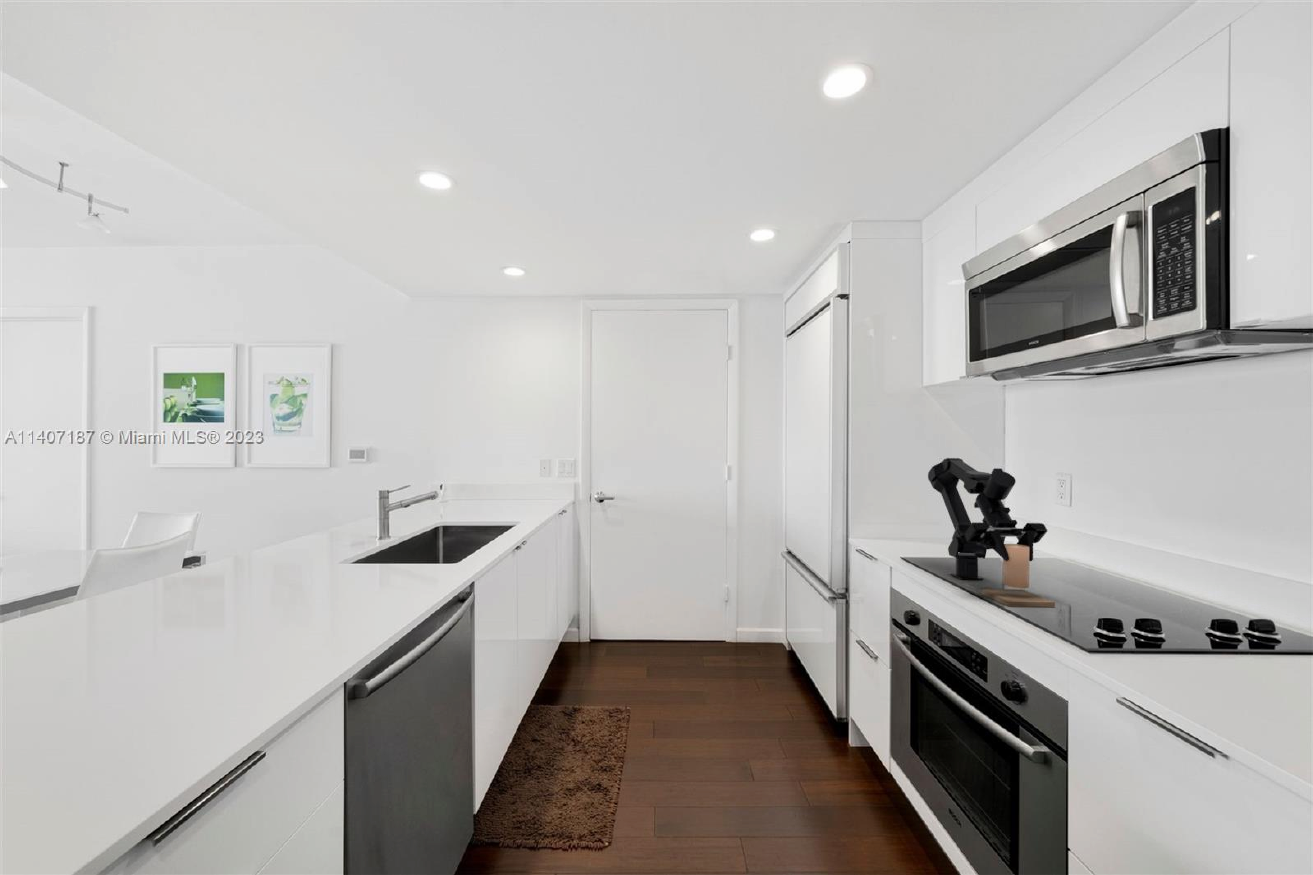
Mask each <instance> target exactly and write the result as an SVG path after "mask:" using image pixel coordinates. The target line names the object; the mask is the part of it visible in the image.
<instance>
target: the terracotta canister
mask: <svg viewBox="0 0 1313 875" xmlns="http://www.w3.org/2000/svg"><path fill="white" fill-rule="evenodd" d="M1004 545H1005V547H1006V550H1007V553H1008V556H1009V560H1008V561H1005V560H1004V559H1003V558H1002V559H1003V561H1002V566H1003V567H1002V569H1003V570H1002V575H1003V576H1002V584H1003V585H1004V586H1006V587H1010V588H1017V589H1028V588H1030V561H1029V546H1025V545H1019V544H1017V543H1004Z"/></svg>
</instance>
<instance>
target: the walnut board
mask: <svg viewBox="0 0 1313 875" xmlns="http://www.w3.org/2000/svg"><path fill="white" fill-rule="evenodd" d="M980 594H981V595H983V596H985V597H988V598H990V599H992V600H994V601H995V602H998V603H1000V604H1003V605H1005V606H1007V607H1008V608H1012V607H1013V608H1056V602H1055V601H1054V600H1050V599H1048V598H1045V597H1042V596H1040V595H1038V594H1035V593H1033V592H1030V591H1028V590H1026V589H1022V588H1017V589H1008V588H1007V589H1006V588H1005V589H1004V588H1003V589H1002V588H999V589H998V588H997V589H996V588H981V589H980Z"/></svg>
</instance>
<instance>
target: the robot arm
mask: <svg viewBox="0 0 1313 875" xmlns="http://www.w3.org/2000/svg"><path fill="white" fill-rule="evenodd" d="M992 469H993V470H992V471H991V472H990V473H989V472H985V471H978V470H976V469H975V468H973V467H972V466H971V465H969V464H967V463H966V462H964V460H963V459H962V458H959V457H947V458H944V459H943V460H942V461H941V462H939V463H936V464H934V465H933V466H932V467H931V468H930V469H929V471H928V473H927V479H928V481H929V483H930V484H931V487H932V489H934V490H936V491H937V492H938V493H940V495H941V497H942V499H943V500H942V501H943V502H944V506H945V507H946V510H947V513H948V515H949V518H950V521H951V523H952V526H953V528H954V532H953V534H952V537H951V539H952V540H951V542H950V543H949V546H948V548H947V551H948V555H949V556H951V557H952V558H955V572H950V575H951V576H953V577H954V578H955V577H956V578H957V579H960V580H968V581H969V580H970V581H971V580H978V581H979V580H981V581H983V580H984V577H982V576H979V559H986V555H987V550H994V551H995V552H996V554H998V556H1000V557H1001V558H1002V559H1004V560H1005V561H1008V560H1009V556H1008V553H1007V550H1006V547H1005V545H1004V544H1005V540H1006V537H1011V538H1012V537H1015V538H1016V539H1017V540H1018V542H1017V543H1016V544H1019V545H1025V546H1029V562H1032V561H1034V544H1037V543H1039V542H1040V541H1041V540H1042V538H1043V537H1044V536H1045V535H1046V533H1047V532H1048V529H1047V527H1046V525H1045V524H1044V523H1041V522H1026V524H1025V525H1024V526H1023V528H1018V527H1016V526H1017V524H1018V522H1017V520H1016V519H1012V518H1011V515H1010V514H1009V513H1010V512H1011V509H1010V507H1007V506H1006V507H1005V504H1004V502H1003V500H1006V499H1007V498H1008V496H1009V494H1010V492H1012V490H1013V488H1014V486H1015V484H1016V481H1017V480H1016V478H1015V477H1014V476H1012V475H1011V474H1010V473H1009V472H1006V471H1004V470H1003V468H992ZM960 481H962V482H963V488H964V489H965V490H966V492H967V493H969V494H970V495H976V498H975V502H974V504H973V507H974V508H975V509H979V510H980V512H981V514H982V516H983V518H982V521H981V522H978V521H977V522H975V521H974V522H973V521H971V518H970V517H969V514H968V511H967V510H966V507H965V504H964V502H963V499H962V498H961V495H960V492H959V490H958V488H957V487H958V484H959V482H960Z"/></svg>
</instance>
